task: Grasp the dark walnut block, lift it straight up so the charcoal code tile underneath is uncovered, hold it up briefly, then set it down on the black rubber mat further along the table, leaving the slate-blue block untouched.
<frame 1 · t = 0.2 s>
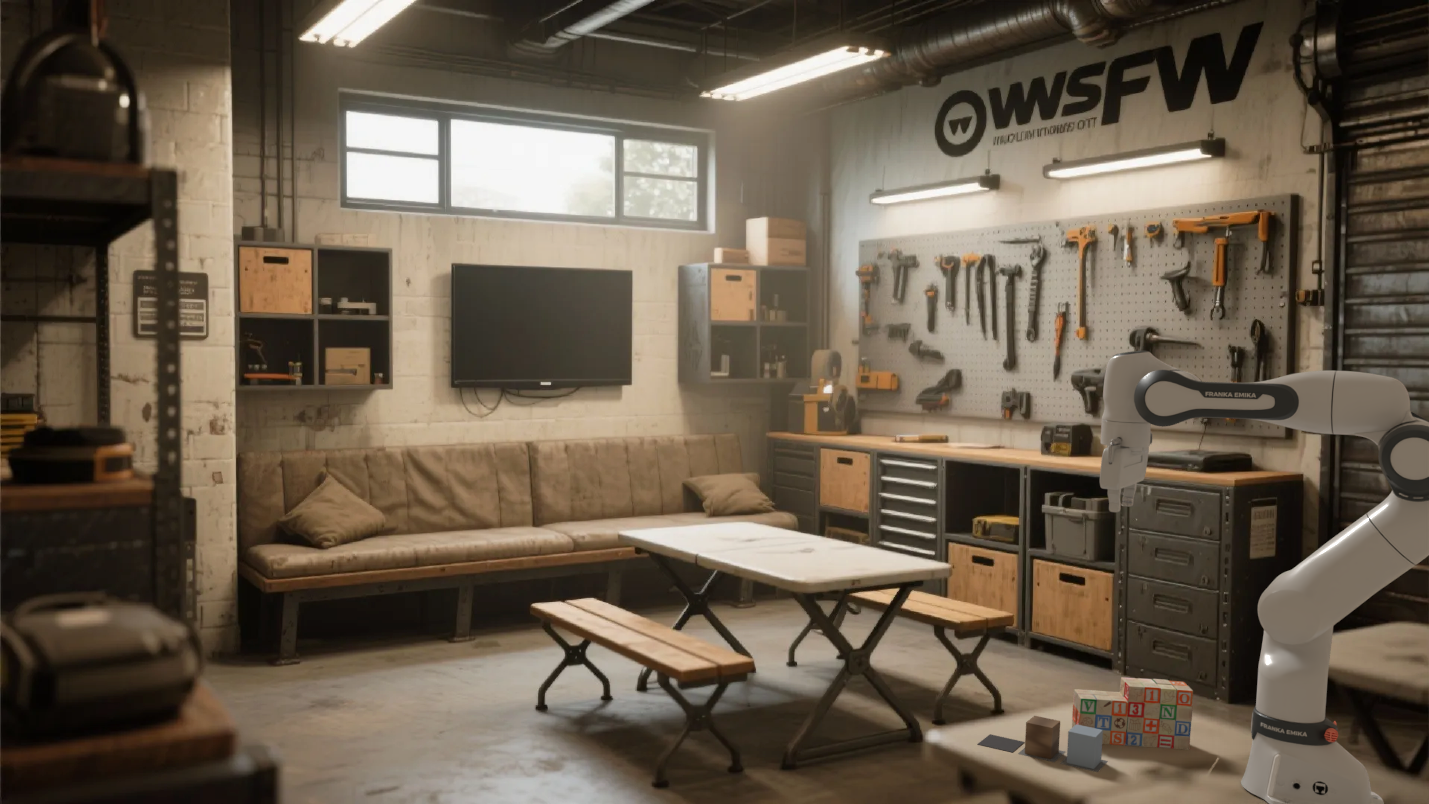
hand: (1121, 508, 223), 47 cm above the table, tool pointing down, fingers open, 8 cm apart
code tile 1: (1041, 754, 224), on the table
slate-blue block: (1084, 762, 220), resting on code tile 2
rubber mat: (1000, 745, 229), on the table
stack of blocks: (1129, 743, 233), on the table
walnut block: (1041, 752, 224), resting on code tile 1
code tile 2: (1083, 763, 220), on the table
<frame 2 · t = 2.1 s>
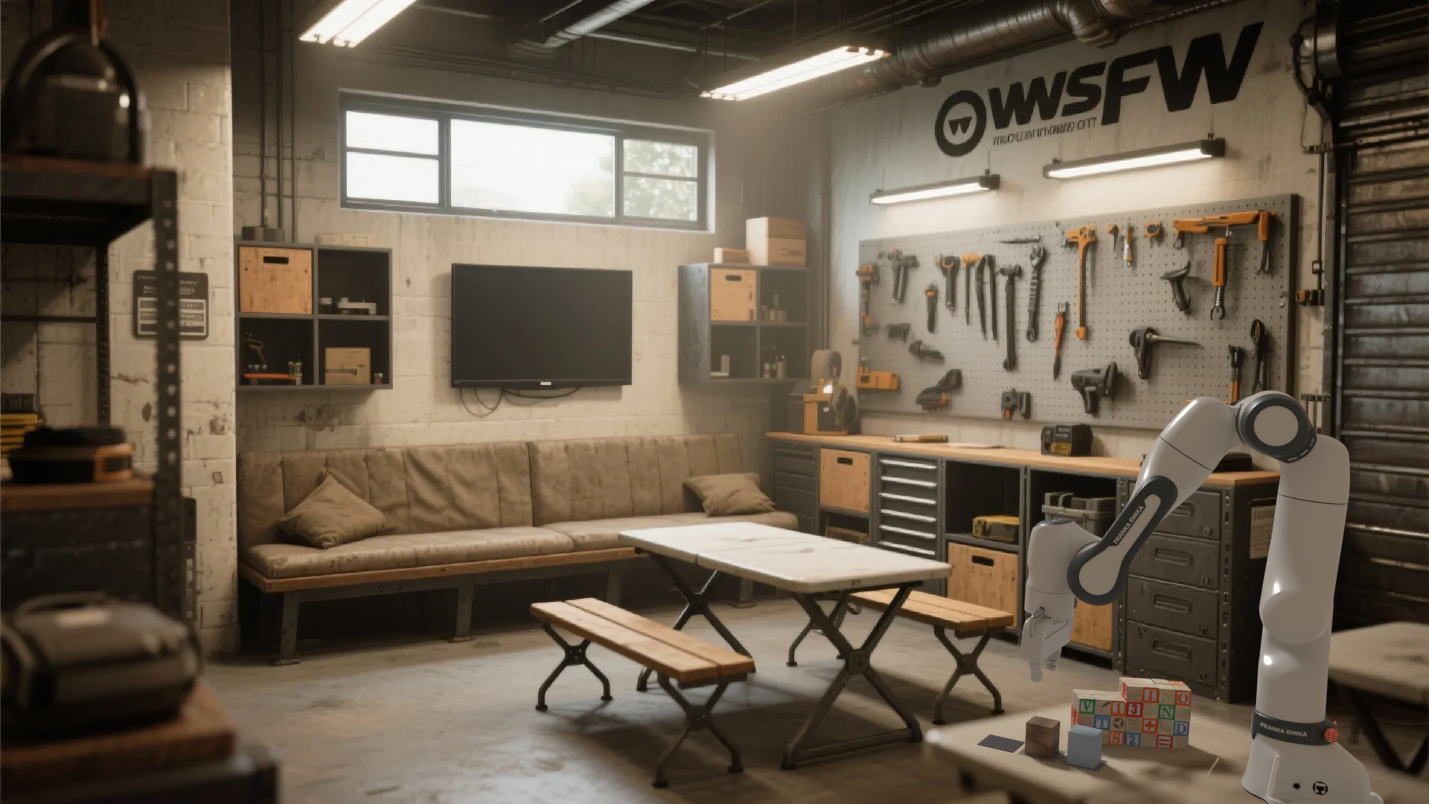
hand: (1044, 675, 223), 15 cm above the table, tool pointing down, fingers open, 8 cm apart
nothing on the table moved.
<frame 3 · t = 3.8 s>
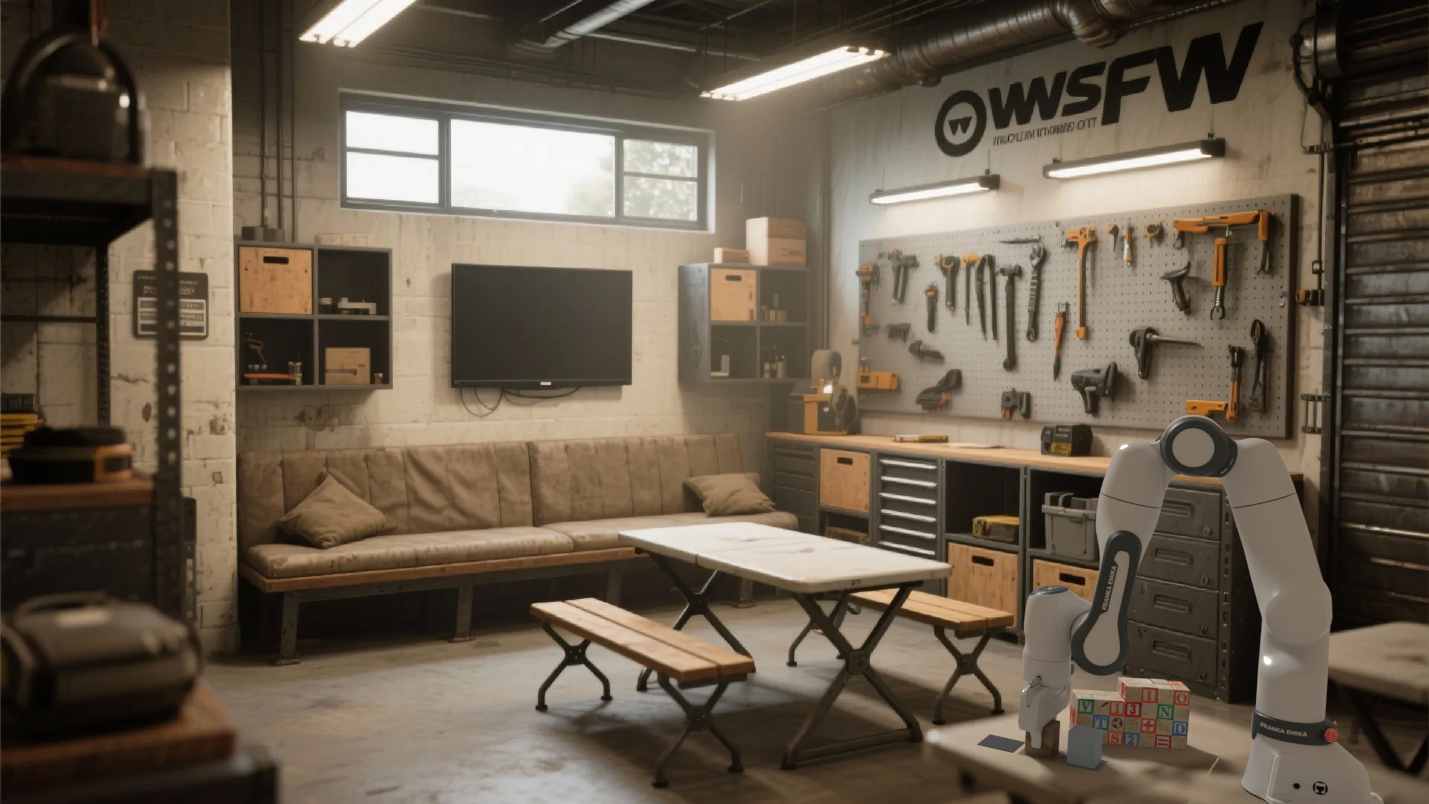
hand: (1042, 742, 224), 2 cm above the table, tool pointing down, fingers closed on walnut block, 5 cm apart
walnut block: (1041, 752, 224), resting on code tile 1, touching gripper
everything else where it was.
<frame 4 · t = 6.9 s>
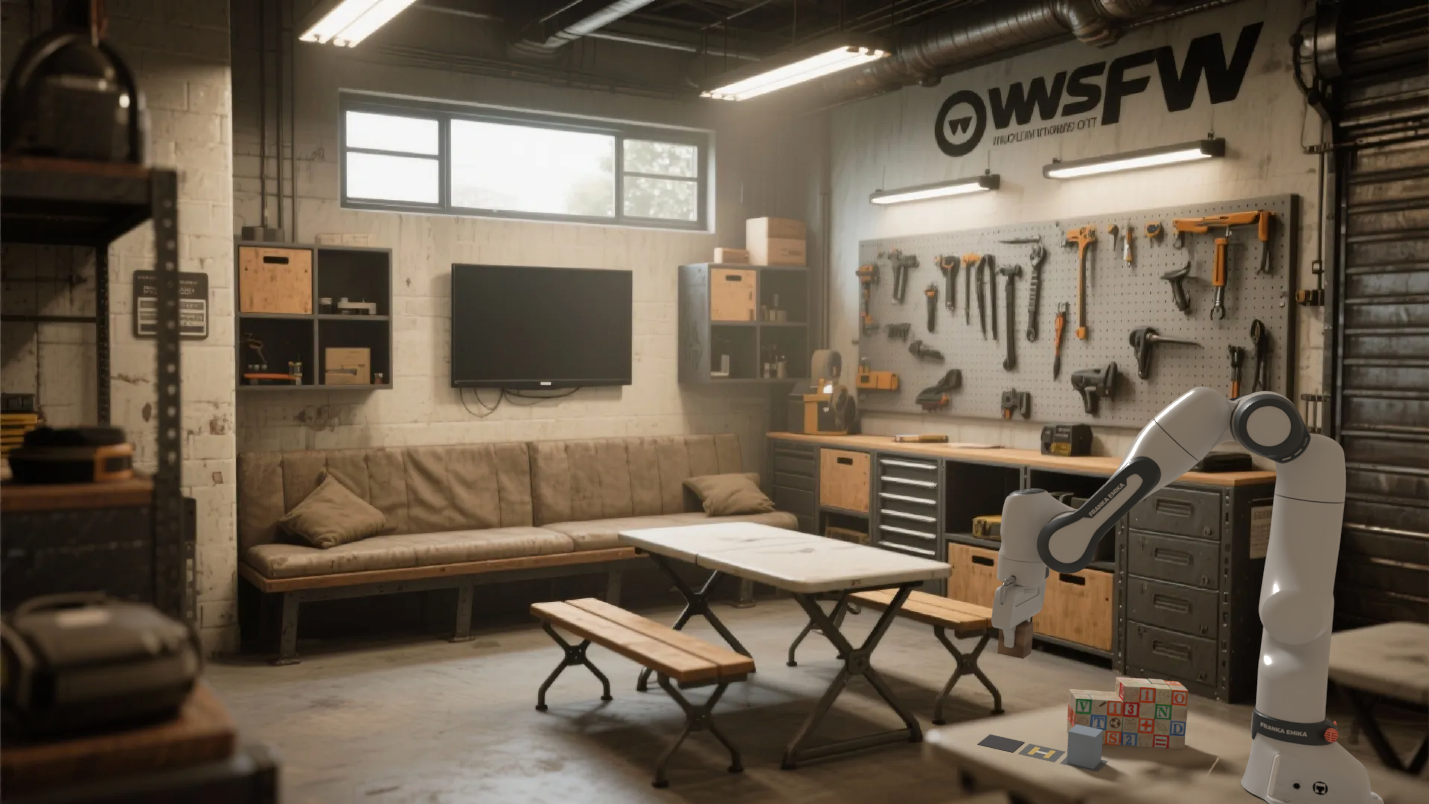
hand: (1015, 643, 226), 20 cm above the table, tool pointing down, fingers closed on walnut block, 5 cm apart
walnut block: (1014, 653, 226), point 18 cm above the table, touching gripper
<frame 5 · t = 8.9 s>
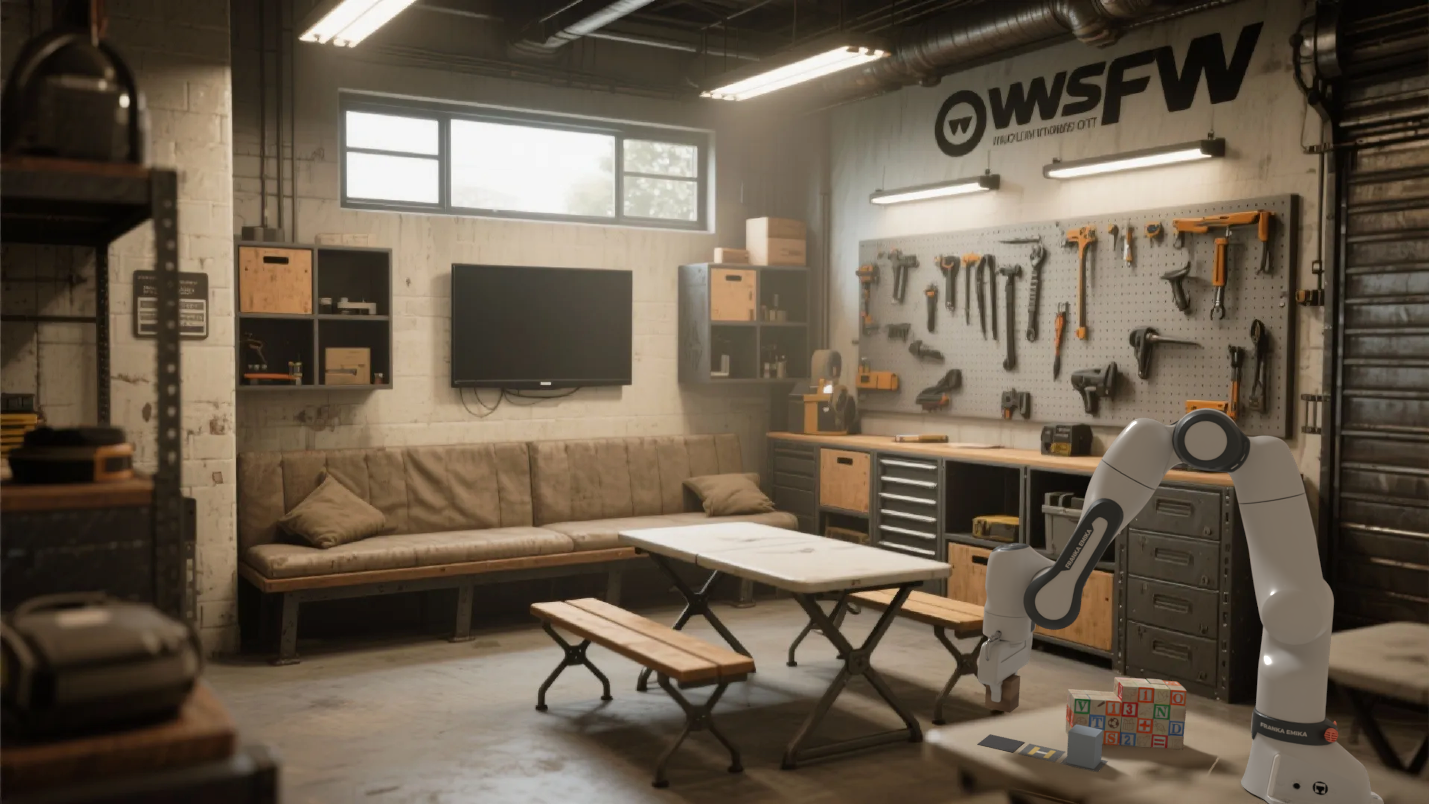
hand: (1002, 696, 228), 9 cm above the table, tool pointing down, fingers closed on walnut block, 5 cm apart
walnut block: (1001, 706, 228), point 8 cm above the table, touching gripper
when the fingers open (4 cm above the table, at t = 10.4 s): walnut block drops 1 cm, resting on rubber mat.
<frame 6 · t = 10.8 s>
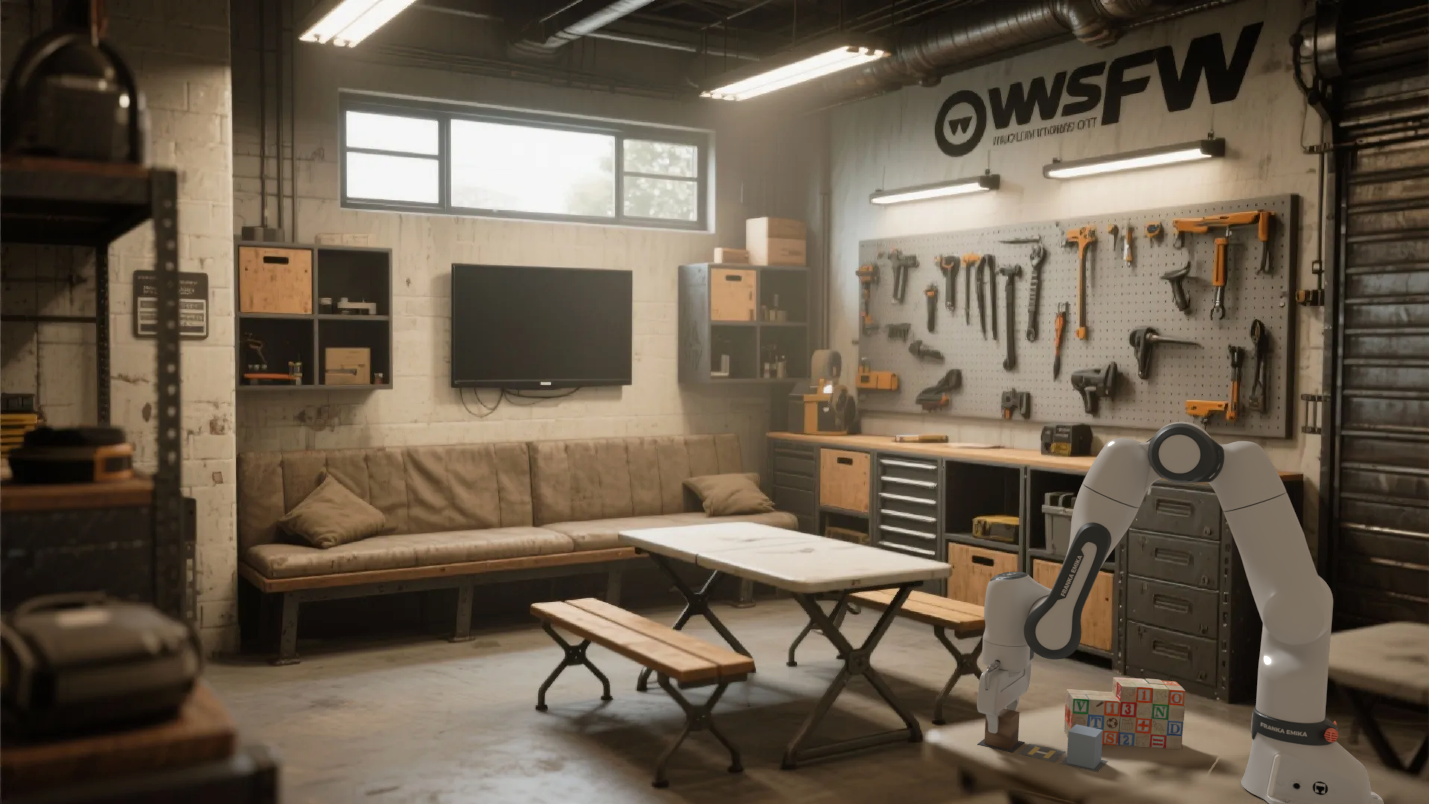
hand: (1002, 725, 228), 4 cm above the table, tool pointing down, fingers open, 8 cm apart
walnut block: (1001, 743, 229), resting on rubber mat
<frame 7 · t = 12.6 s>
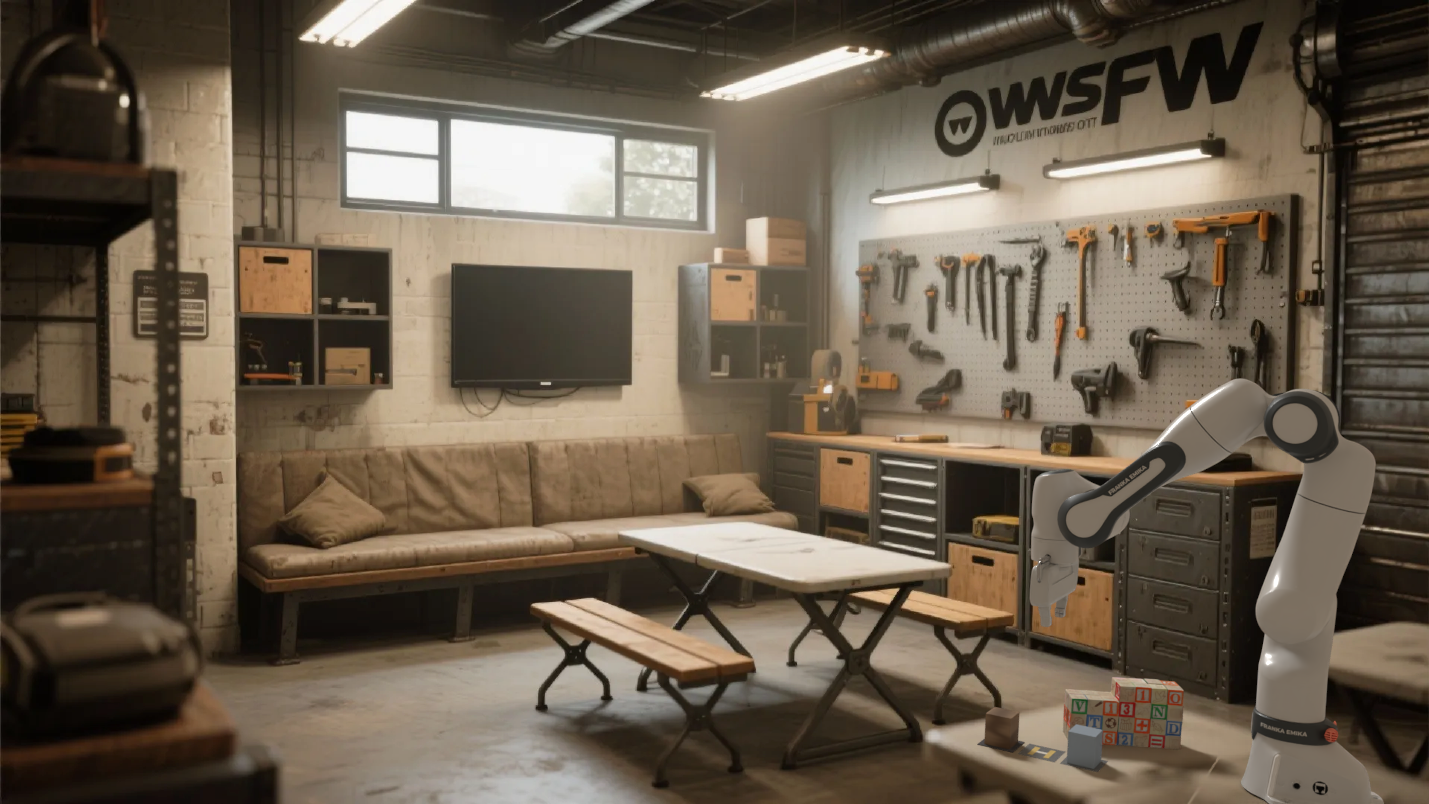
hand: (1053, 621, 231), 24 cm above the table, tool pointing down, fingers open, 8 cm apart
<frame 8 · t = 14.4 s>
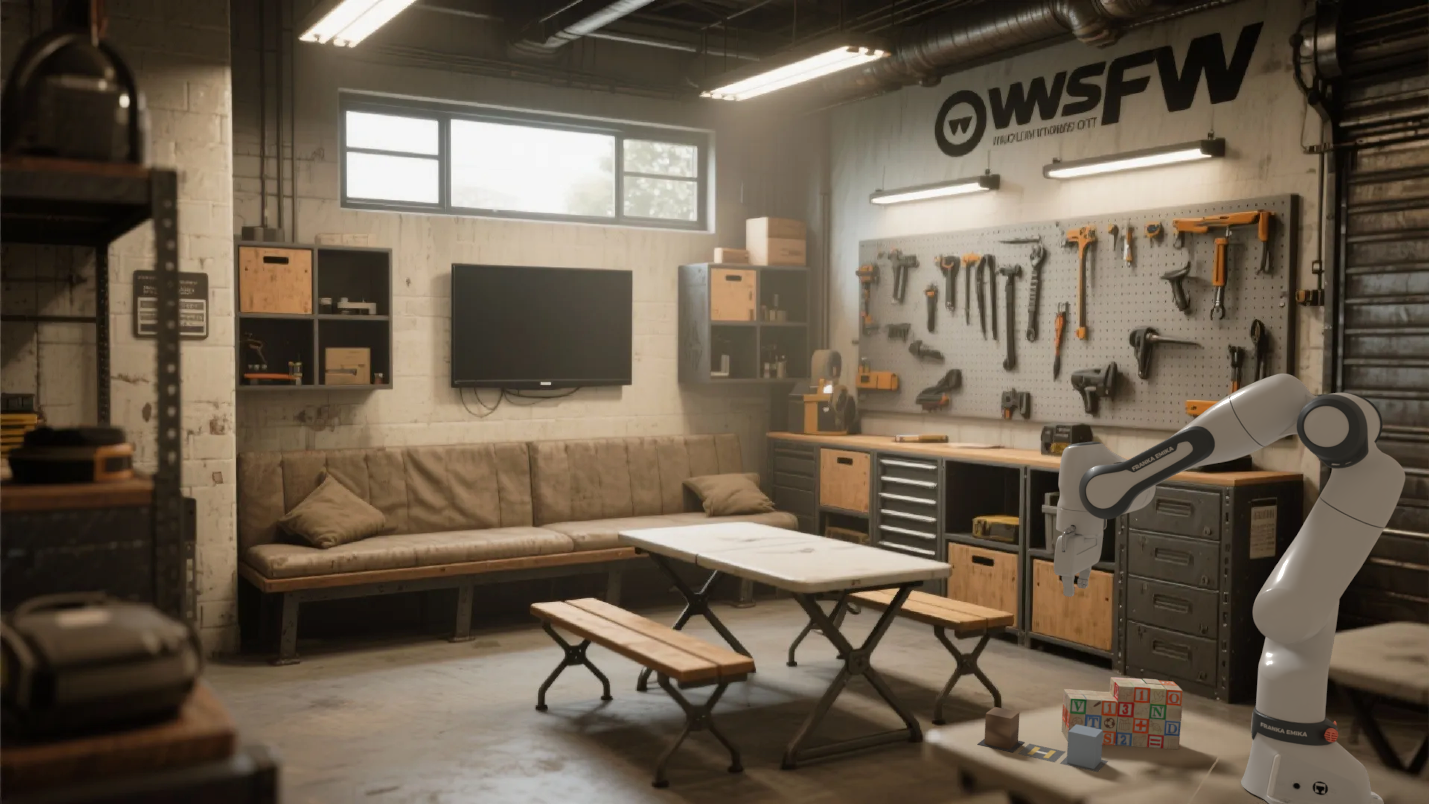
hand: (1075, 591, 234), 29 cm above the table, tool pointing down, fingers open, 8 cm apart
at the end: walnut block 0.0 cm off-centre on the rubber mat, point 0.4 cm above the rubber mat's base; walnut block tilted 0°; slate-blue block moved 0.0 cm from its start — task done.
